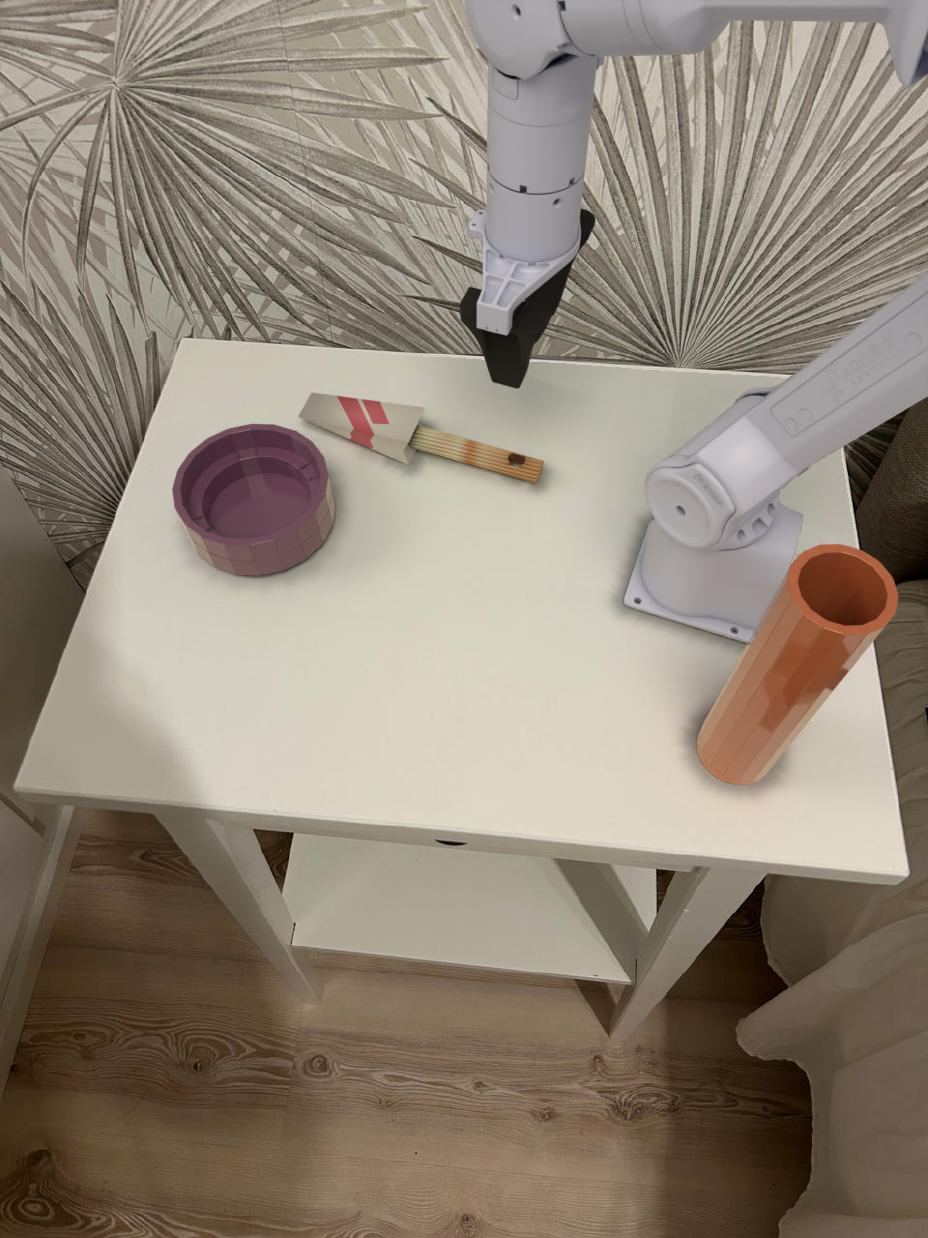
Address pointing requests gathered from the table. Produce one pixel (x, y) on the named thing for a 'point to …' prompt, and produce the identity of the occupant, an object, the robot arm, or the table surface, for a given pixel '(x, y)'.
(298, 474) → the bowl
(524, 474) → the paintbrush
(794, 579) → the vase
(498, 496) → the table surface
